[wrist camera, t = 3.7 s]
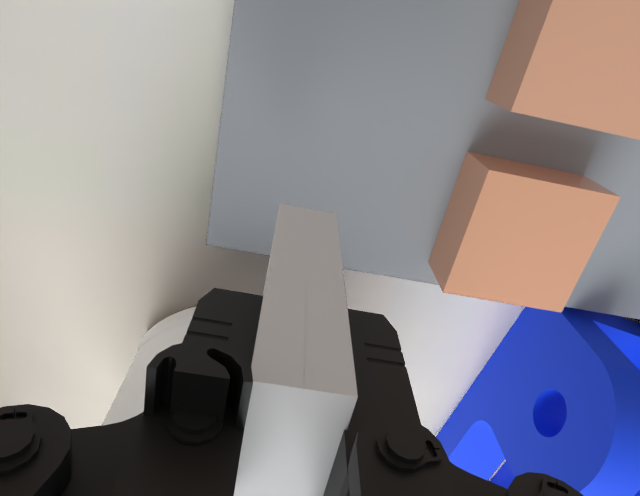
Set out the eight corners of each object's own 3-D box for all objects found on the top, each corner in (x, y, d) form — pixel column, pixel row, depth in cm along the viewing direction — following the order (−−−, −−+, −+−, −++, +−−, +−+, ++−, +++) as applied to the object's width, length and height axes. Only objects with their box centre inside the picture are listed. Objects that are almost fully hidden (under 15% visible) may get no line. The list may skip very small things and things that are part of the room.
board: (216, 221, 22) (205, 244, 20) (261, -148, 16) (255, -175, 14) (639, 297, 25) (672, 325, 23) (813, 1, 19) (881, -1, 17)
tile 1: (428, 262, 21) (443, 292, 18) (466, 151, 19) (488, 169, 16) (534, 281, 21) (561, 312, 19) (583, 175, 19) (620, 196, 17)
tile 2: (484, 98, 18) (510, 111, 15) (538, -56, 16) (578, -68, 13) (606, 126, 18) (649, 142, 16) (674, -20, 16) (734, -25, 14)
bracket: (537, 285, 25) (650, 417, 17) (665, 331, 26) (826, 473, 18) (388, 502, 32) (417, 669, 24) (496, 528, 33) (556, 693, 25)
